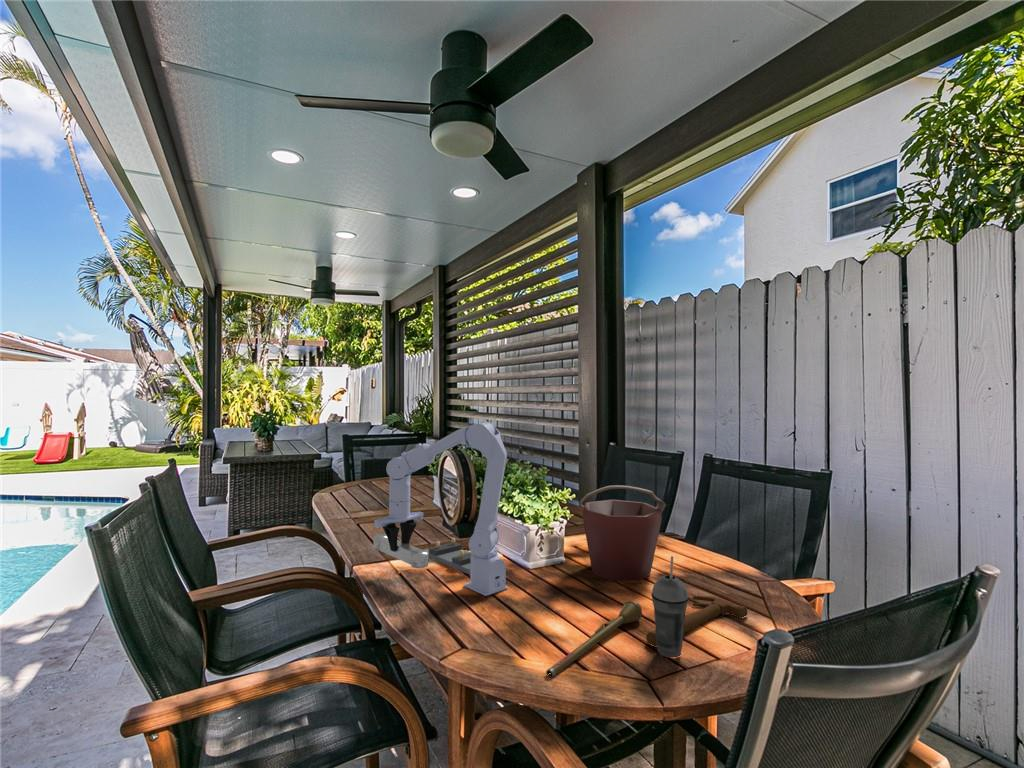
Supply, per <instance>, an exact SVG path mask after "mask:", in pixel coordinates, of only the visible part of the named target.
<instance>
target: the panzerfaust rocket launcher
mask: <svg viewBox="0 0 1024 768" xmlns="http://www.w3.org/2000/svg"><path fill="white" fill-rule="evenodd" d="M642 615H643V609H642V605H641V604H640V603H638V602H636V601H634V600H627V601H625V602H623V605H622V607H621V610H620V612H619V613H618V617H616V618H613V619H611V620H610V621H609V620H608V621H607V622H605V623H602V624H601V625H600V626H599V627H598V628H597V629H596V630H595V631H594V633H593V634H592V635H591V636H590V637H589V638H588V639H587V640H586V641H584V642H583V643H582V644H581V645H579V646H578V647H576V648H575V649H573V651H571V652H570V653H568V654H567V655H566V656H564V657H563V658H561V659H560V660H559V661H557V662H556V663H555V664H554V665H552V666H551V667H549V668H548V669H546V671H545V674H546V676H547V675H548V674H549V673H552V674H551V675H552V676H551V677H553V676H554V677H556V675H557V673H558V674H559V673H560V672H562V671H563V670H565V668H568V666H569V665H571V664H572V663H573V662H575V661H576V660H577V659H578V658H580V657H581V656H582V655H584V654H585V653H586V652H588V650H590V649H591V648H593V647H594V646H595V645H597V644H598V643H599V642H601V640H604V638H606V637H607V636H609V635H610V634H611V633H612V632H613V631H615V630H616V629H617V628H618V627H620V626H621V625H623V624H629V623H637V622H639V621H640V620H641V618H642V617H643V616H642ZM554 677H553V678H554Z"/></svg>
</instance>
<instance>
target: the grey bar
mask: <svg viewBox="0 0 1024 768" xmlns="http://www.w3.org/2000/svg"><path fill="white" fill-rule="evenodd" d="M373 550H374V551H380V552H382V553H384V554H387V555H388V556H390V557H392V558H395V559H397V560H400V561H402V562H405V563H406V564H408V565H410V566H411V567H412V568H413V569H414V568H415V569H424V568H425V569H426V568H427V567H428V566H429V558H428V551H427V550H424V549H421V548H419V547H416V546H414V545H411V544H410V543H409V544H407V543H404V542H402V541H401V540H399V539H397V551H395V552H394V551H391V550H390V545H389V541H388V538H387V535H386V533H379V534H375V535H373Z"/></svg>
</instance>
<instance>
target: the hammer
mask: <svg viewBox="0 0 1024 768" xmlns="http://www.w3.org/2000/svg"><path fill="white" fill-rule="evenodd" d="M692 599H693V600H696V601H705V602H706V603H705V602H704V603H703V602H693V604H692V606H696V605H699V606H700V607H703V608H702V609H699V610H696V611H694V612H691V613H689V614H687V615H686V614H685V622H684V633H683V635H684V634H687V633H688V632H690V631H692V630H693V628H694V629H695V628H697V627H699V626H701V625H702V624H704V623H705V622H708V621H709V620H711V619H713V617H714V618H716V616H717V617H718V616H720V615H719V614H726V613H729V614H734V615H736V616H738V617H741V618H742V617H744V616H746V615H747V616H748V608H747V607H746V606H743V605H737V604H735V603H733V601H730V600H727V599H723V598H719V597H715V596H708V595H707V596H705V595H693V596H692ZM707 602H711V603H707ZM705 606H707V607H705ZM729 614H728V615H729ZM734 615H733V616H734ZM736 616H735V617H736ZM738 617H737V618H738ZM741 618H740V619H741ZM698 625H699V626H698ZM645 637H646V638H645V639H646V641H647V644H648V643H650V644H652V645H654V646H657V639H656V629H654V630H652V631H650V632H648V633H647V634H646V636H645Z"/></svg>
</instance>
